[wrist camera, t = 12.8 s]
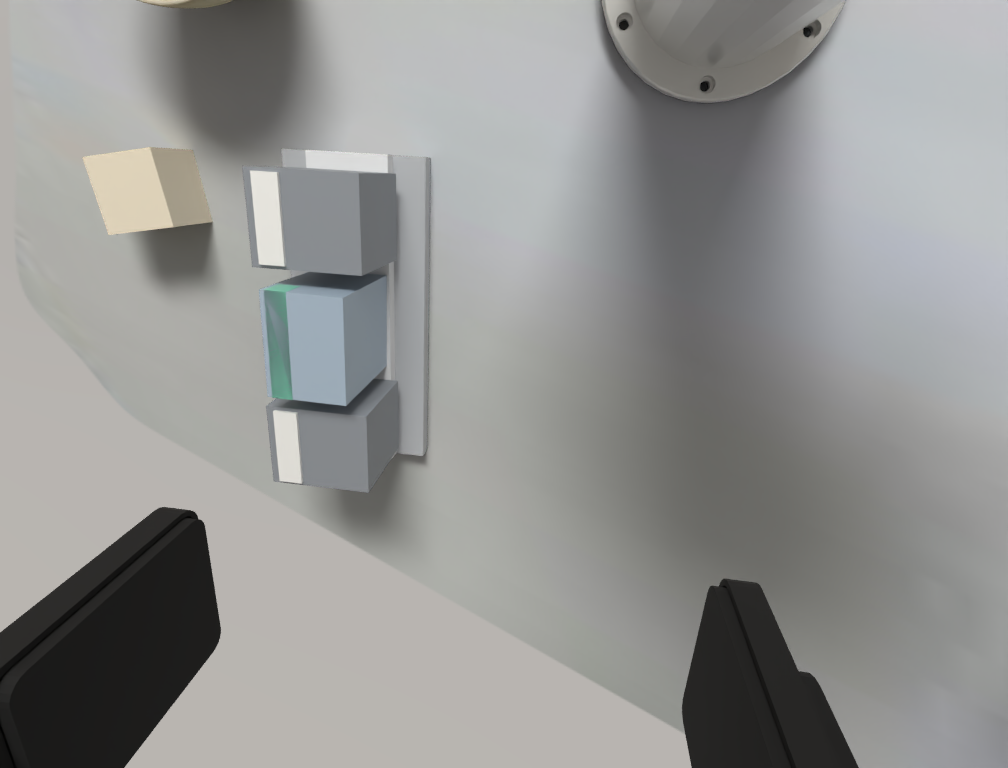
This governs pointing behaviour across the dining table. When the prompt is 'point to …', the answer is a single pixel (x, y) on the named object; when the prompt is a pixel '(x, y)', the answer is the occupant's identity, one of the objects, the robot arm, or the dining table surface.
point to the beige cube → (147, 189)
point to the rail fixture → (356, 251)
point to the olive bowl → (186, 3)
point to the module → (324, 335)
